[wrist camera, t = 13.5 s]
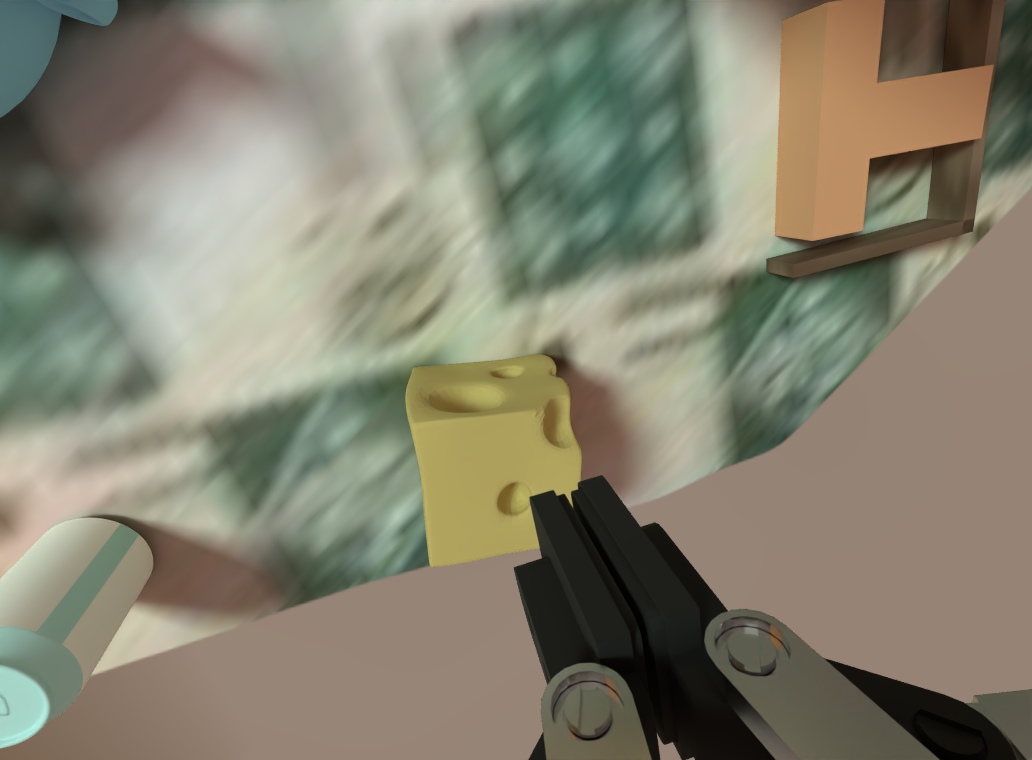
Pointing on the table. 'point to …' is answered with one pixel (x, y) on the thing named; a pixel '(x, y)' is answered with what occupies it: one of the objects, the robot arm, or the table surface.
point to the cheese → (489, 452)
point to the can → (63, 617)
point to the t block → (855, 115)
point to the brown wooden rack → (953, 164)
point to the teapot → (37, 39)
